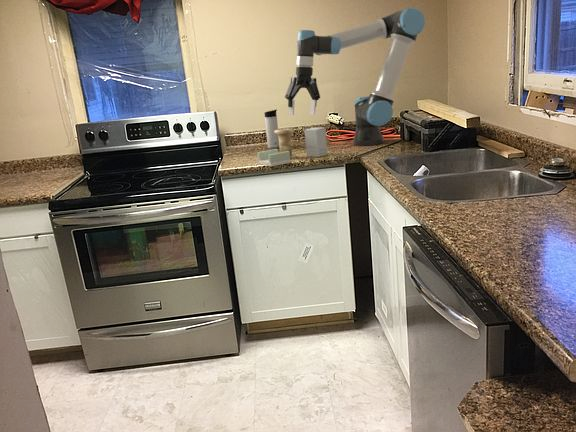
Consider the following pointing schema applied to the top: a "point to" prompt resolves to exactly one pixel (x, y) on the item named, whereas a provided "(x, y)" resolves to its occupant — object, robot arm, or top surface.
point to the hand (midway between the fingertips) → (302, 114)
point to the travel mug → (271, 129)
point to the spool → (285, 141)
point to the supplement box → (316, 142)
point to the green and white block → (273, 157)
